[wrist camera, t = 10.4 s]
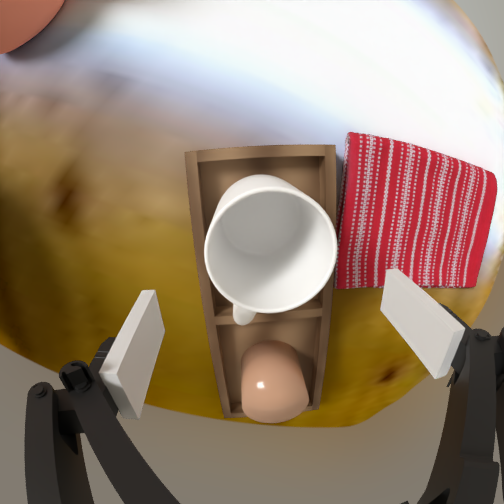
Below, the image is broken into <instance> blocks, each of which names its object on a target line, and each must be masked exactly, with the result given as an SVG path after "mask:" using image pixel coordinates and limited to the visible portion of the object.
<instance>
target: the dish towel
mask: <svg viewBox="0 0 504 504" xmlns="http://www.w3.org/2000/svg"><path fill="white" fill-rule="evenodd" d="M345 145H346V148H345V155H344V163H343V173H342V181H341V190H340V197H339V204H338V210H337V216H336V237H337V258H336V263H335V266H334V282H333V286H334V288H336V289H349V288H360V287H374V288H375V287H377V288H384V284H385V277H386V270H387V269H395V268H397V269H399V270H400V271H401V272H402V273H403V274H405V275H406V276H407V277H408V278H409V279H411V280H412V281H413V282H414V283H415V284H417V285H418V286H419V287H420V288H423V287H425V288H431V287H435V288H470V287H475V286H476V282H477V277H478V273H479V270H480V266H481V262H482V258H483V254H484V250H485V247H486V242H487V238H488V234H489V229H490V224H491V220H492V216H493V211H494V206H495V201H496V195H497V181H496V178H495V175H494V174H493V173H492V172H489V171H487V170H484V169H483V168H481V167H478V166H475V165H473V164H470V163H467V162H465V161H461V160H459V159H456V158H452V157H450V156H447V155H445V154H442V153H438V152H436V151H432V150H429V149H426V148H422V147H419V146H416V145H413V144H410V143H406V142H402V141H396V140H393V139H390V138H382V137H378V136H374V135H370V134H360V133H353V132H349V133H348V134H347V138H346V140H345Z"/></svg>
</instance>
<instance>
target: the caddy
mask: <svg viewBox="0 0 504 504" xmlns="http://www.w3.org/2000/svg"><path fill="white" fill-rule="evenodd" d="M185 162H186V174H187V185H188V195H189V205H190V214H191V223H192V231H193V239H194V247H195V255H196V262H197V269H198V277H199V283H200V290H201V297H202V303H203V309H204V315H205V321H206V327H207V333H208V339H209V344H210V350H211V355H212V361H213V366H214V371H215V376H216V381H217V386H218V391H219V396H220V400H221V405H222V410H223V414H224V418H235V417H248V416H247V415H246V414H245V413H244V411H243V409H242V390H241V358H242V356H243V354H244V352H245V351H246V350H247V349H248V348H249V347H251V346H252V345H254V344H256V343H259V342H262V341H267V340H277V341H282V342H285V343H287V344H289V345H291V346H292V347H293V348H294V349H295V351H296V353H297V355H298V359H299V363H300V366H301V370H302V374H303V377H304V381H305V385H306V389H307V392H308V396H309V402H308V405H307V407H306V408H305V410H304V411H310V410H316V409H319V405H320V399H321V393H322V386H323V379H324V372H325V364H326V356H327V348H328V339H329V330H330V319H331V308H332V296H333V282H334V269H333V272H332V274H331V276H330V278H329V280H328V281H327V283H326V284H325V286H324V287H323V288H322V289H321V290H320V292H319V293H317V294H316V295H315V296H314V297H313V298H312V299H310V300H309V301H308V302H306V303H304V304H302V305H301V306H299V307H296V308H294V309H291V310H288V311H284V312H278V313H259V312H256V314H255V316H254V318H253V320H252V321H251V322H250V323H249V324H246V325H239V324H237V323H236V322H235V321H234V318H233V303H232V302H230V301H229V300H228V299H226V298H225V297H224V296H223V295H222V294H221V293H220V292H219V291H218V290H217V288H216V287H215V286H214V284H213V282H212V281H211V279H210V277H209V274H208V272H207V269H206V264H205V258H204V245H205V240H206V235H207V232H208V230H209V227H210V224H211V222H212V219H213V216H214V214H215V211H216V209H217V206H218V204H219V201H220V200H221V198H222V196H223V195H224V193H225V192H226V191H227V190H228V188H229V187H230V186H232V185H233V184H234V183H236V182H237V181H239V180H241V179H243V178H245V177H248V176H252V175H271V176H275V177H278V178H280V179H283V180H284V181H286V182H288V183H289V184H291V185H292V186H294V187H295V188H297V189H298V190H300V191H301V192H303V193H304V194H306V195H307V196H309V197H310V198H312V199H313V200H314V201H316V202H317V203H318V204H319V205H320V206H321V207H322V208H323V209H324V210H325V212H326V213H327V215H328V216H329V218H330V220H331V222H332V224H333V226H334V229H335V232H336V148H335V145H268V146H248V147H233V148H220V149H209V150H199V151H190V152H185Z"/></svg>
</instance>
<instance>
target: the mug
mask: <svg viewBox="0 0 504 504" xmlns="http://www.w3.org/2000/svg"><path fill="white" fill-rule="evenodd" d="M204 258H205V264H206V269H207V272H208V274H209V277H210V279H211V281H212V282H213V284H214V286H215V287H216V288H217V290H218V291H219V292H220V293H221V294H222V295H223V296H224V297H225V298H226V299H228V300H229V301H230V302H232V303H233V318H234V321H235V322H236V323H237V324H239V325H246V324H249V323H250V322H251V321H252V320H253V318H254V316H255V314H256V312H259V313H278V312H284V311H288V310H291V309H294V308H296V307H299V306H301V305H302V304H304V303H306V302H308V301H309V300H310V299H312V298H313V297H314V296H315V295H316V294H317V293H319V292H320V290H321V289H322V288H323V287H324V286H325V284H326V283H327V281H328V280H329V278H330V276H331V274H332V272H333V269H334V266H335V263H336V258H337V237H336V232H335V229H334V226H333V224H332V222H331V220H330V218H329V216H328V215H327V213H326V212H325V210H324V209H323V208H322V207H321V206H320V205H319V204H318V203H317V202H316V201H314V200H313V199H312V198H310V197H309V196H307V195H306V194H304V193H303V192H301V191H300V190H298V189H297V188H295V187H294V186H292V185H291V184H289V183H288V182H286V181H284V180H283V179H280V178H278V177H275V176H271V175H252V176H248V177H245V178H243V179H241V180H239V181H237V182H236V183H234V184H233V185H232V186H230V187H229V188H228V190H227V191H226V192H225V193H224V195H223V196H222V198H221V200H220V201H219V204H218V206H217V209H216V211H215V214H214V216H213V219H212V222H211V224H210V227H209V230H208V232H207V235H206V240H205V245H204Z"/></svg>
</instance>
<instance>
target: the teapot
mask: <svg viewBox="0 0 504 504" xmlns="http://www.w3.org/2000/svg"><path fill="white" fill-rule="evenodd" d="M64 1H65V0H0V54H3V53H7V52H10V51H12V50H14V49H16V48H18V47H19V46H21V45H23V44H24V43H26V42H27V41H29V40H30V39H32V38H33V37H34V36H36V35H37V34H38V33H39V32H40V31H42V30H43V29H44V28H45V27H46V26H47V25H48V24H49V23H50V21H51V20H52V19H53V18H54V17H55V15H56V14H57V13H58V11H59V10H60V8H61V6H62V5H63V3H64Z"/></svg>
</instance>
